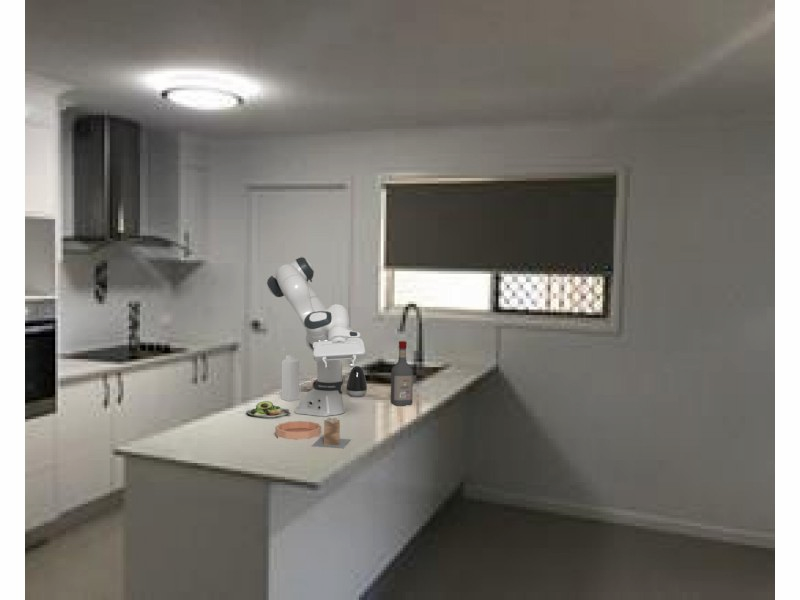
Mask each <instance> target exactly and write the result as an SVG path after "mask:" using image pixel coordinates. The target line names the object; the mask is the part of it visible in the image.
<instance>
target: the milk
mask: <svg viewBox="0 0 800 600" xmlns="http://www.w3.org/2000/svg"><path fill="white" fill-rule="evenodd" d="M299 399H300V360H299V359H298V358H297V357H296V354H295V353H291V354H286V355H285V358H284V359H282V361H281V401H282V400H283V401H286V402H293V401H298V400H299Z"/></svg>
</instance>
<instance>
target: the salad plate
mask: <svg viewBox="0 0 800 600" xmlns="http://www.w3.org/2000/svg"><path fill="white" fill-rule="evenodd" d="M255 407H256V408H252V409H249V410H247V411H246V412H245V413H246V415H247V416H248V417H252V418H259V419H269V420H270V419H273V420H274V419H280V418H282V417H285V416H287V415H292V412H290V409H288V408H282V407H281V406H278V405H274V404H273V402H271V401H268V400H264V401H260V402H258V403H257V404H256V405H255Z"/></svg>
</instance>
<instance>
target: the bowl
mask: <svg viewBox="0 0 800 600" xmlns="http://www.w3.org/2000/svg"><path fill="white" fill-rule="evenodd" d="M274 432H275V437H276V438H277V439H279V438H281V439H285V440H286V439H288V440H305V439H312V438H315V437H319V436H320V435H321V434H322V425H320V423H317V422H312V421H305V420H304V421H303V420H295V421H286V422H282V423H279V424H278V425H276V426H275V431H274Z"/></svg>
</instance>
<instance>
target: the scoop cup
mask: <svg viewBox="0 0 800 600" xmlns="http://www.w3.org/2000/svg"><path fill="white" fill-rule="evenodd" d="M323 422H324V423H323V426H324V427H323V428H324V429H323V438H324V445H340V439H341V438H340V436H341V435H340V433H341V421H340V419H338V418H337V417H332V418H331V417H328V418H326V419H324V420H323Z"/></svg>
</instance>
